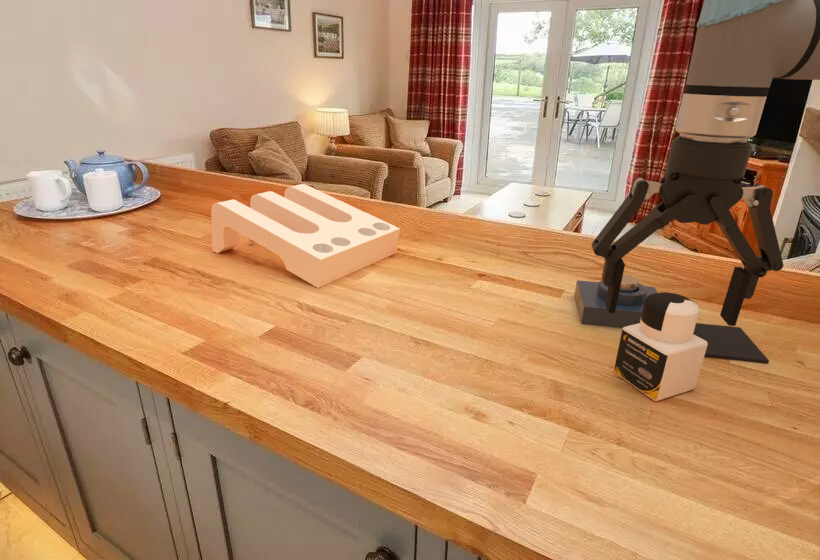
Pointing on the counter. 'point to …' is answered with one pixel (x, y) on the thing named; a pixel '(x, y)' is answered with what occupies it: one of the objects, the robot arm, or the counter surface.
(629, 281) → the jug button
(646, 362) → the medicine bottle
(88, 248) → the counter surface
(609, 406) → the counter surface
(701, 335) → the mat
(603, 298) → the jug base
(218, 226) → the bracket
